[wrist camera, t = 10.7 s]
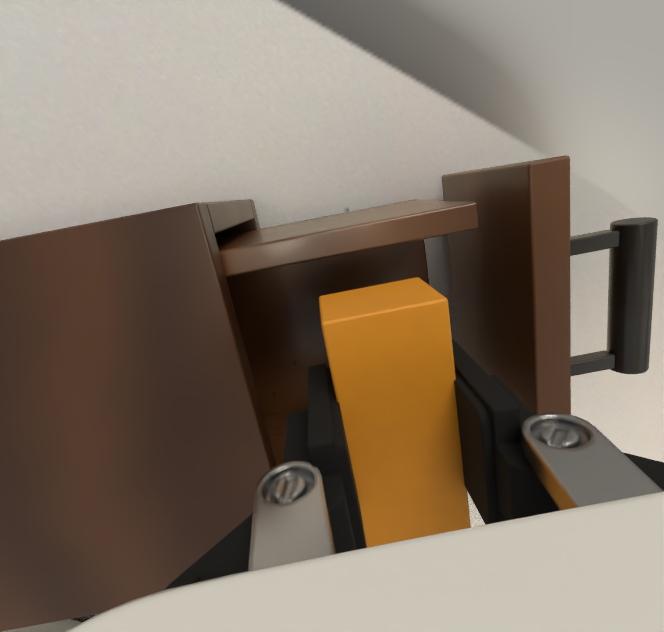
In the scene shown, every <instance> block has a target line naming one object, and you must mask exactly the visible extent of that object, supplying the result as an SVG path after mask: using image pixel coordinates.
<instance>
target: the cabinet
mask: <svg viewBox="0 0 664 632" xmlns="http://www.w3.org/2000/svg"><path fill="white" fill-rule="evenodd" d="M259 229H260V228H259V224H258V219H257V215H256V211H255V206H254V202H253V200H251V199H250V200H234V201H219V202H201V203H192V204H187V205H182V206H177V207H172V208H166V209H161V210H156V211H151V212H146V213H141V214H135V215H130V216H125V217H120V218H115V219H109V220H104V221H99V222H94V223H89V224H84V225H78V226H73V227H68V228H63V229H58V230H53V231H47V232H42V233H37V234H32V235H27V236H22V237H16V238H11V239H6V240H1V241H0V632H3V631H8V630H14V629H19V628H24V627H30V626H35V625H41V624H46V623H52V622H57V621H62V620H68V619H73V618H79V617H84V616H90V615H95V614H100V613H102V612H105V611H107V610H110V609H112V608H115V607H117V606H119V605H122V604H124V603H127V602H129V601H132V600H134V599H138V598H141V597H144V596H147V595H150V594H154V593H157V592H160V591H163V590H164V589H165V588H166V587H167V586H168V585H169V584H170V583H171V582H173V581H174V580H175V579H176V578H177V577H178V576H180V575H181V574H182V573H183V572H184V571H186V570H187V569H188V568H189V567H190V566H191V565H193V564H194V563H195V562H196V561H197V560H198V559H200V558H201V557H202V556H203V555H204V554H205V553H207V552H208V551H209V550H210V549H211V548H212V547H214V546H215V545H216V544H217V543H218V542H219V541H221V540H222V539H223V538H224V537H225V536H227V535H228V534H229V533H230V532H231V531H232V530H234V529H235V528H236V527H237V526H238V525H239V524H241V523H242V522H243V521H244V520H245V519H246V518H248V517H249V516H250V515H251V514H252V513H253V504H254V491H255V488H256V485H257V483H258V481H259V480H260V478H261V477H262V476H263V475H264V474H265V473H266V472H268V471H269V470H270V469H272V468H274V467H275V466H277V464H276V461H275V457H274V453H273V450H272V446H271V442H270V439H269V435H268V431H267V427H266V424H265V420H264V416H263V413H262V409H261V405H260V401H259V398H258V394H257V390H256V387H255V383H254V379H253V375H252V372H251V368H250V364H249V361H248V357H247V353H246V349H245V346H244V342H243V338H242V335H241V331H240V327H239V323H238V320H237V316H236V312H235V309H234V305H233V301H232V297H231V294H230V290H229V286H228V283H227V279H226V275H225V271H224V268H223V264H222V260H221V257H220V253H219V249H218V245H217V242H216V238H217V237H222V236H227V235H233V234H238V233H243V232H248V231H253V230H259Z"/></svg>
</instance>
